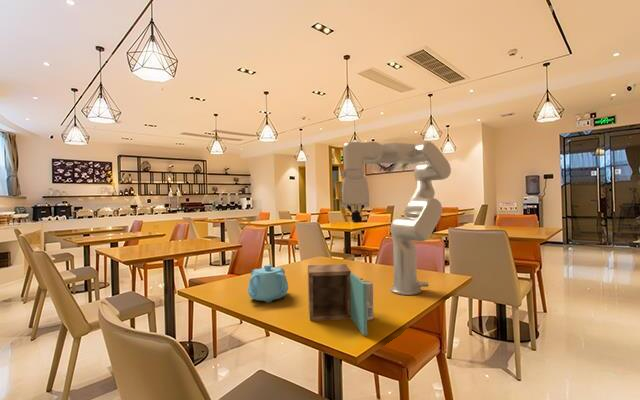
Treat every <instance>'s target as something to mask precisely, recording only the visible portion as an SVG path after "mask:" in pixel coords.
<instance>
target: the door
mask: <svg viewBox="0 0 640 400" xmlns="http://www.w3.org/2000/svg"><path fill="white" fill-rule="evenodd" d="M360 278H361V277H360ZM360 278H359V276H357V275H356V274H355V273H352V272H351V273H350V297H351V319H350V320H352V322H353V323H354V324H355V326H356V327H357V329H358V330H359V331H360V332H361V334H362V335H363V336H364V337H365V336H368V321H367V307H370V303H369V301H367V295H366V283H365V282H363V281H364V280H361V279H360Z"/></svg>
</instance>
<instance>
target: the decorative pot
mask: <svg viewBox="0 0 640 400" xmlns="http://www.w3.org/2000/svg"><path fill="white" fill-rule="evenodd" d="M285 274H286V273H285V269H284V268H282V267H272V265H271V264H264V265H263V268H262V267H261V268H255V269H252V271H251V273H250V278H249V280H248V284H247V294H248V296H249V297H250V298H251V299H252V300H254V299H255V300H254V301H259V302H260V301H263V302H265V303H266V302H270V303H272V302H273V301H274V300H279V299H283V298H284V296H286V295H287V294H288V291H289V283H288V279H287V276H286V275H285ZM282 297H283V298H282Z"/></svg>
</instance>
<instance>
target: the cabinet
mask: <svg viewBox="0 0 640 400" xmlns="http://www.w3.org/2000/svg"><path fill="white" fill-rule="evenodd" d="M350 273H352V271H351V269H350V268H349V267H348V265H347V264H346V263H337V264H332V263H331V264H308V265H307V290H308V313H309V314H308V315H309V321H311V322H312V321H331V320H332V321H333V320H352V319H351V297H350Z"/></svg>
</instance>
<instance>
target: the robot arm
mask: <svg viewBox="0 0 640 400" xmlns="http://www.w3.org/2000/svg"><path fill="white" fill-rule="evenodd" d="M342 147H343V148H342V151H343V171H341V172H340V176H343V177H344V178H342V183H341V205H340V206H341V208H344V209H348V211H349V212H351V221H352V222H353V224H356V223H358V224H359V223H360V221H361V211H362V210H363V209H364V208H367V207H369V206H370V193H369V192H370V191H369V183H368V178H367V177H365V168H364V167H365V166H364V164H416V165H415V167H414V170H413V174H414V175H413V176H414V178H415V185H416V188H415V190H414V192H413V194H412V196H410V198H409V201H407V203H406V205H405V208H404V213H405V216H399V217H395V218H394V219H393V220H392V222H391V224H390V233H391V239H392V245H393V246H392V247H393V249H392V250H393V285H391V286H390V289H389V290H390V291H391V292H392V293H393V294H397V295H402V296H404V295H405V296H413V295H418V294H420V293H421V292H422V290H421V288H422V287H427V288H428V287H429V282H428V281H422V280H420V281H419V280H418V275H417V273H418V270H417V268H418V266H417V265H418V264H417V262H418V261H417V247H416V244H415V242H425V241H427V240H428V239H429V238H430V237H431V235H432V234H433V232H434V230H435V228H436V227H437V225H438V223H439V221H440V219H441V217H442V213H443V206H442V203H441V201H440V200H439V199H437V198H435V194H436V192H435V189H434V186H433V184H432V182H431V181H443V180H445V179H448V178H449V176H450V175H451V173H452V168H451V164H450V162H449V161H448V159H447V158H446V157H445V155H444V154H443V153H442V151H440V149H439V148H438V147H437V146H436V145H435V144H434V143H433V142H431V141H422V142H416V143H408V142H407V143H406V142H390V143H383V144H380V143H379V142H377V141H367V142H360V141H348V142H345V143H344V144H343V146H342ZM354 205H356V210H355V206H354Z"/></svg>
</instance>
